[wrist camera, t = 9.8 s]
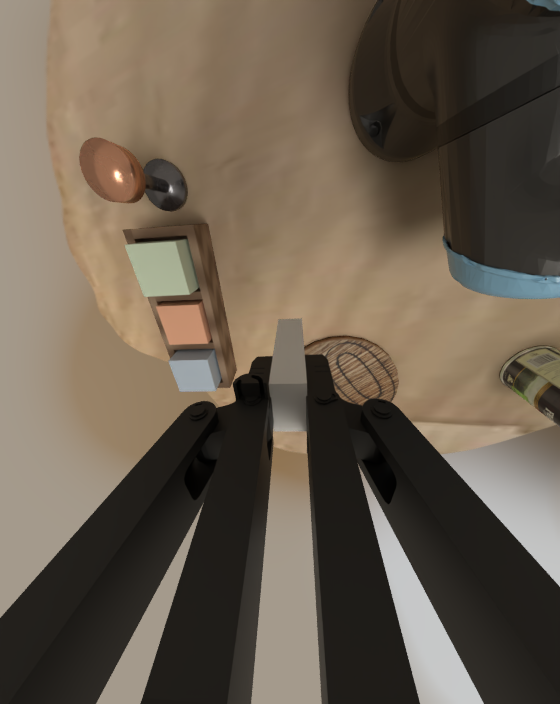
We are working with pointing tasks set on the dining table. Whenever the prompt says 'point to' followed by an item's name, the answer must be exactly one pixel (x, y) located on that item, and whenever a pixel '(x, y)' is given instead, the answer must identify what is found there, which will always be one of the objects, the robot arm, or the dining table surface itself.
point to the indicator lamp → (131, 176)
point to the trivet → (358, 368)
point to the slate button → (196, 369)
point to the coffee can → (536, 379)
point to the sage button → (163, 267)
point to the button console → (196, 291)
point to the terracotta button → (184, 321)
